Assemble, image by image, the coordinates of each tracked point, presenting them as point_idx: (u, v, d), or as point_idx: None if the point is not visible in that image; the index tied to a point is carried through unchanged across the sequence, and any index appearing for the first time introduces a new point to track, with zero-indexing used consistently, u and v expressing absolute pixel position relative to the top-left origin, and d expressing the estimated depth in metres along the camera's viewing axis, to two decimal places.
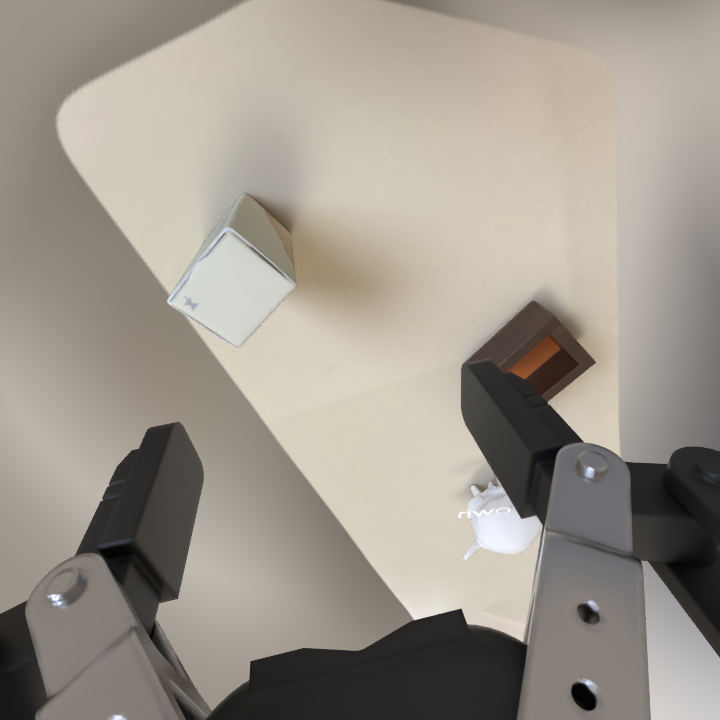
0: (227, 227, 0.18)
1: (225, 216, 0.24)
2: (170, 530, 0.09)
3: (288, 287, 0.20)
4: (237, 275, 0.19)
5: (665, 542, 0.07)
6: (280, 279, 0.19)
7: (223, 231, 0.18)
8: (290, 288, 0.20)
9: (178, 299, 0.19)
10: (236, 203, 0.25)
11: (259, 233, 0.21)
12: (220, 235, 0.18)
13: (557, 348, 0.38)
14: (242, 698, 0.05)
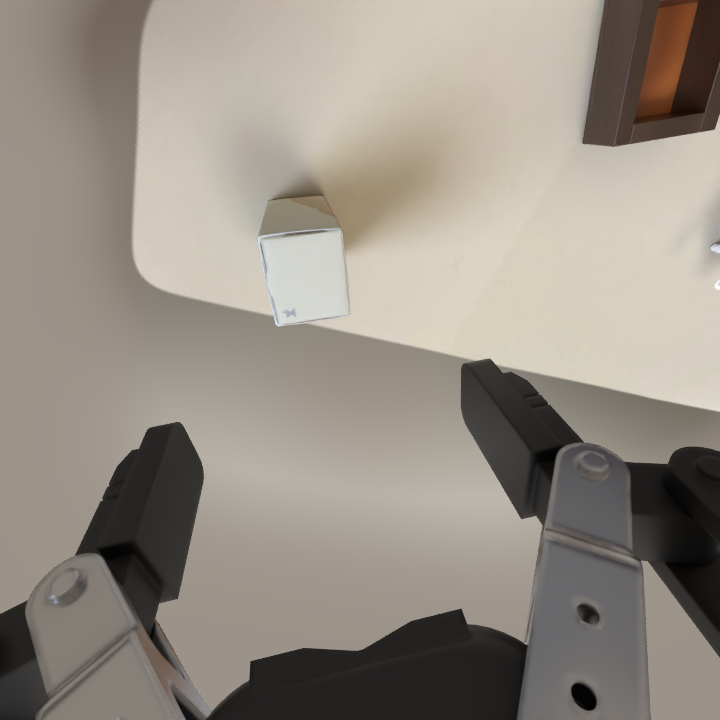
0: (258, 237, 0.19)
1: None
2: (169, 530, 0.09)
3: (337, 236, 0.20)
4: (296, 264, 0.20)
5: (665, 542, 0.07)
6: (326, 236, 0.20)
7: (258, 243, 0.19)
8: (339, 235, 0.20)
9: (280, 317, 0.21)
10: None
11: (289, 219, 0.22)
12: (259, 248, 0.19)
13: (692, 6, 0.26)
14: (242, 698, 0.05)
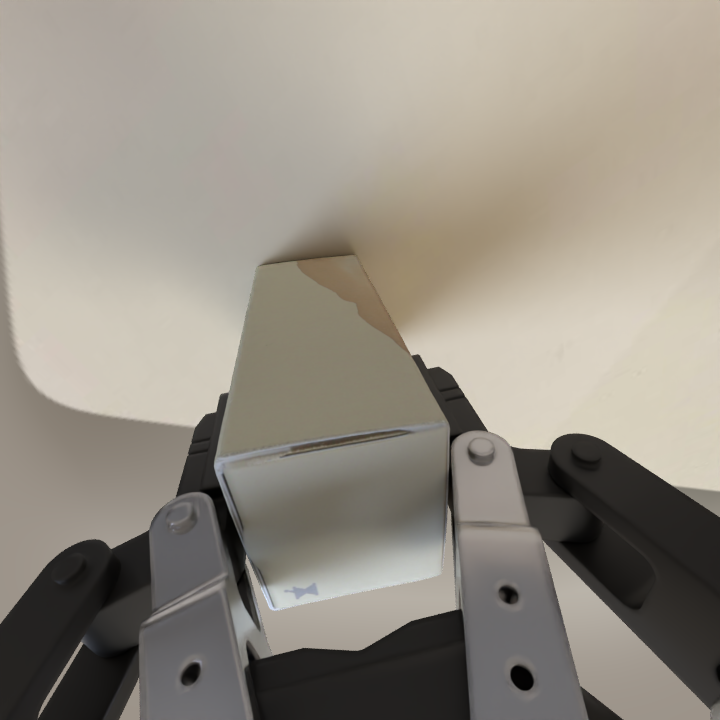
0: (216, 459, 0.07)
1: None
2: None
3: (436, 443, 0.07)
4: (322, 509, 0.07)
5: (547, 521, 0.08)
6: (406, 447, 0.07)
7: (217, 473, 0.07)
8: (442, 439, 0.07)
9: (281, 599, 0.09)
10: None
11: (299, 352, 0.09)
12: (222, 482, 0.07)
13: None
14: None
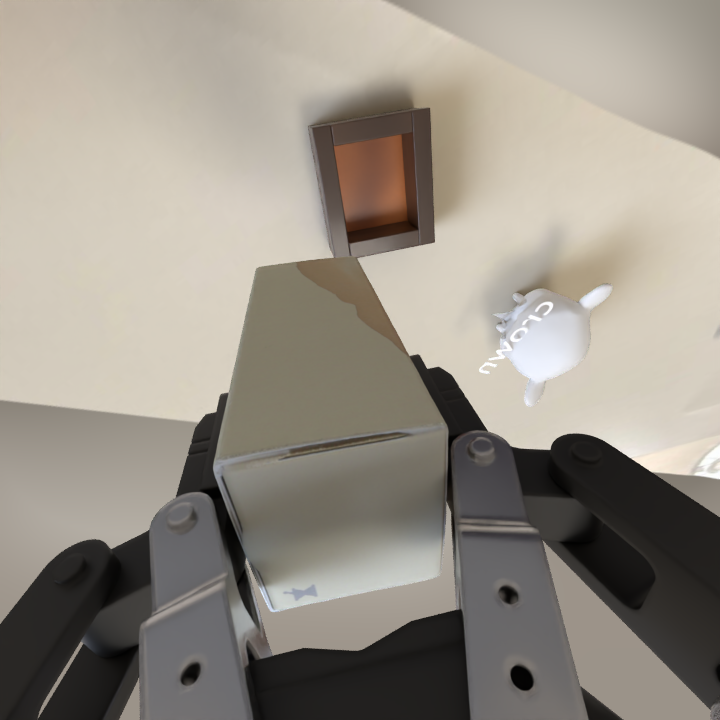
0: (215, 461, 0.07)
1: None
2: None
3: (434, 445, 0.07)
4: (321, 511, 0.07)
5: (547, 521, 0.08)
6: (405, 449, 0.07)
7: (217, 475, 0.07)
8: (441, 442, 0.07)
9: (279, 601, 0.09)
10: None
11: (299, 354, 0.09)
12: (221, 485, 0.07)
13: None
14: None
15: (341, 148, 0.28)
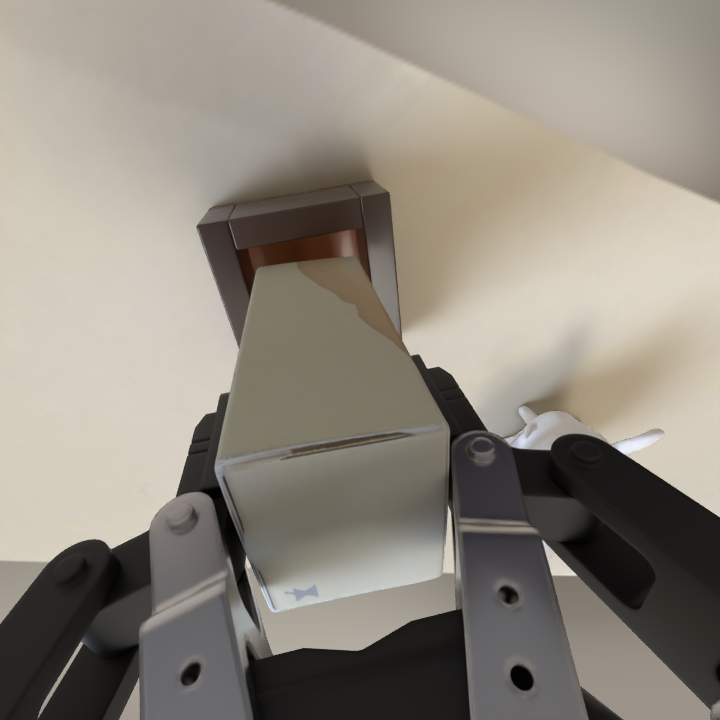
0: (217, 461, 0.07)
1: None
2: None
3: (436, 446, 0.07)
4: (322, 511, 0.07)
5: (547, 521, 0.08)
6: (407, 450, 0.07)
7: (218, 475, 0.07)
8: (442, 442, 0.07)
9: (281, 601, 0.09)
10: None
11: (300, 354, 0.09)
12: (222, 485, 0.07)
13: None
14: None
15: None
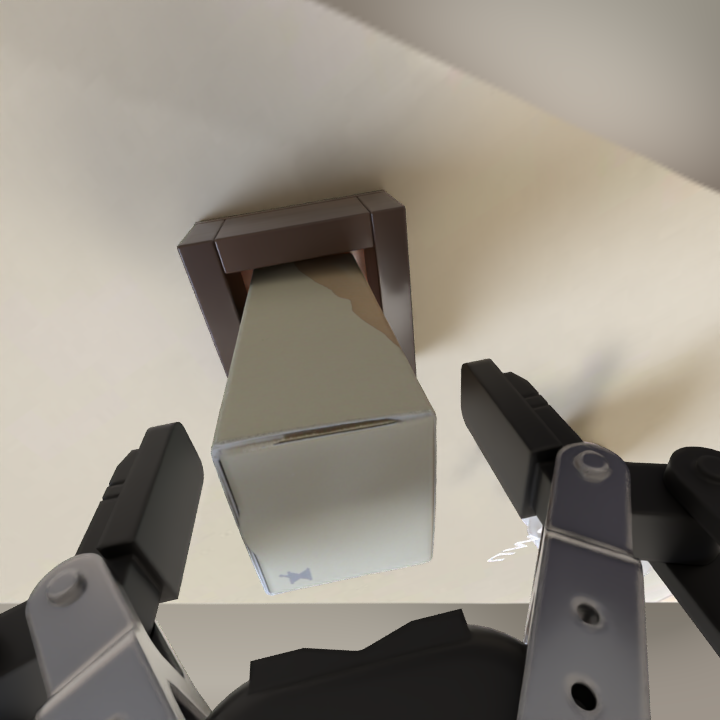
0: (213, 446, 0.07)
1: None
2: (170, 530, 0.09)
3: (422, 431, 0.07)
4: (314, 495, 0.08)
5: (665, 542, 0.07)
6: (395, 435, 0.07)
7: (214, 459, 0.07)
8: (429, 428, 0.07)
9: (276, 584, 0.09)
10: None
11: (294, 347, 0.10)
12: (218, 468, 0.07)
13: None
14: (242, 698, 0.05)
15: None
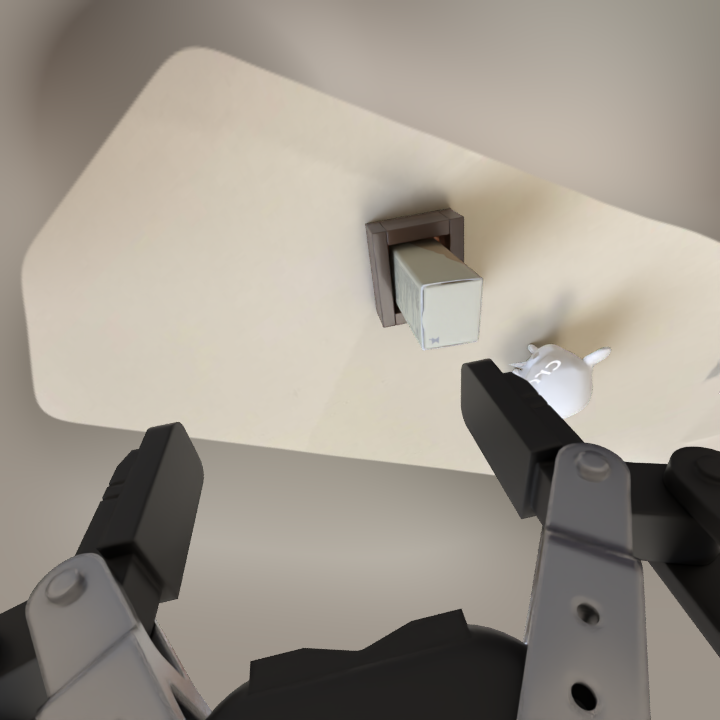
0: (421, 286, 0.26)
1: (397, 271, 0.33)
2: (170, 530, 0.09)
3: (479, 284, 0.26)
4: (446, 304, 0.26)
5: (665, 542, 0.07)
6: (471, 284, 0.26)
7: (421, 290, 0.26)
8: (481, 283, 0.26)
9: (427, 343, 0.28)
10: (395, 257, 0.33)
11: (431, 266, 0.28)
12: (421, 293, 0.26)
13: None
14: (242, 698, 0.05)
15: None
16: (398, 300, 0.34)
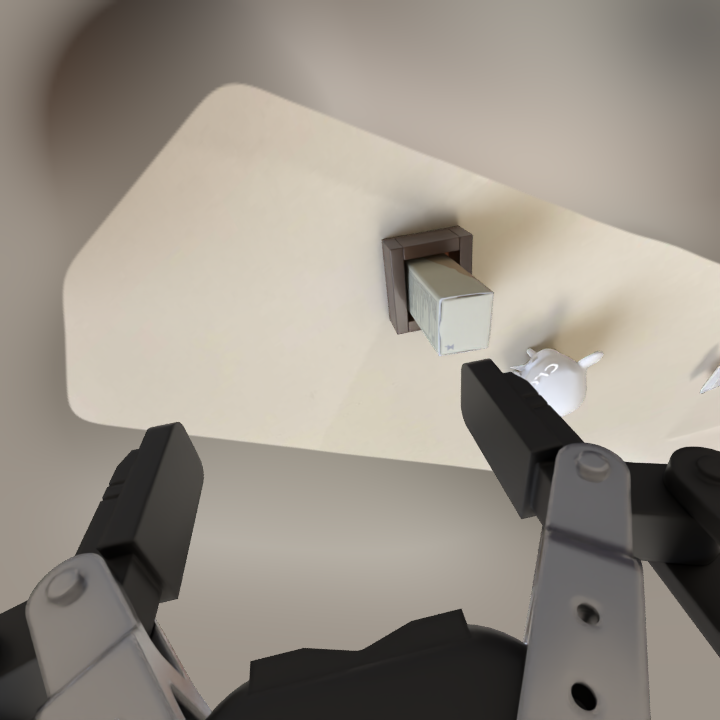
0: (439, 299, 0.29)
1: (411, 283, 0.36)
2: (170, 530, 0.09)
3: (490, 297, 0.29)
4: (461, 315, 0.30)
5: (665, 542, 0.07)
6: (483, 298, 0.29)
7: (439, 303, 0.29)
8: (491, 296, 0.29)
9: (443, 350, 0.31)
10: (410, 271, 0.36)
11: (445, 281, 0.32)
12: (439, 305, 0.29)
13: None
14: (242, 698, 0.05)
15: None
16: (412, 309, 0.37)
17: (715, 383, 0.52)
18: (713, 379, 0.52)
